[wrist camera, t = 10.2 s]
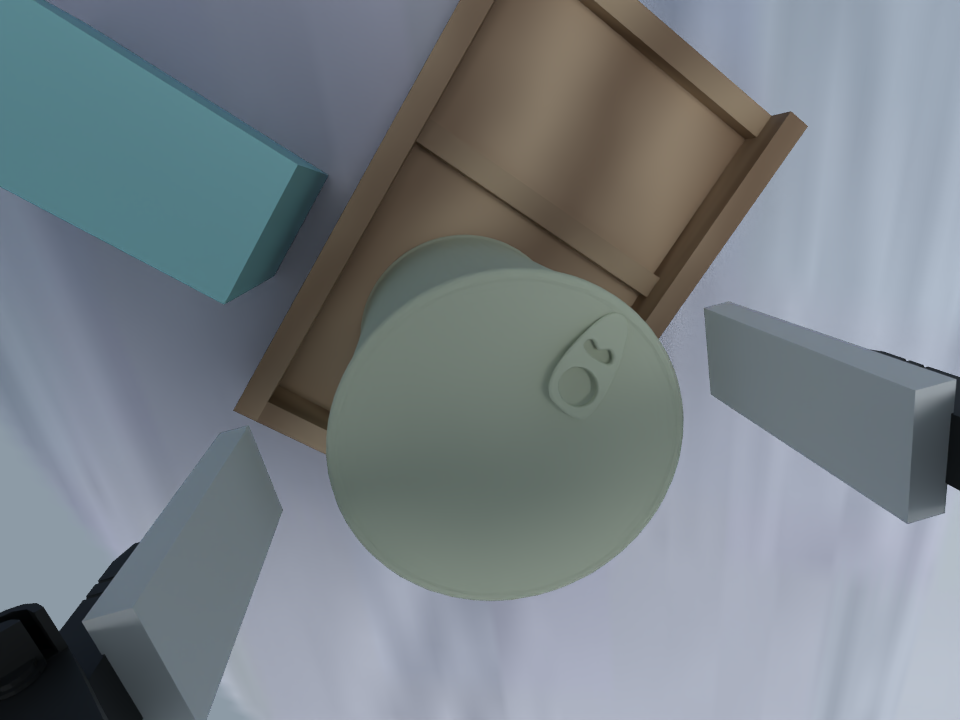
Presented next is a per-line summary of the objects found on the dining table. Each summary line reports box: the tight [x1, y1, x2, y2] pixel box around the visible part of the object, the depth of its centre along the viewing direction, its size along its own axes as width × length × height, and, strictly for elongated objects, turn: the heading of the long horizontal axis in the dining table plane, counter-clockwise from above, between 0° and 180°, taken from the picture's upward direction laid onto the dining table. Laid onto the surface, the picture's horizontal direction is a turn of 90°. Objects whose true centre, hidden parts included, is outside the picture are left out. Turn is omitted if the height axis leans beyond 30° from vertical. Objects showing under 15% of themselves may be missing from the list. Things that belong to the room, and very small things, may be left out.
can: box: [326, 235, 683, 601], centre depth 19 cm, size 9×9×12 cm
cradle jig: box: [233, 0, 808, 454], centre depth 23 cm, size 14×22×3 cm, turn 148°
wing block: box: [0, 0, 328, 304], centre depth 19 cm, size 10×5×7 cm, turn 58°
